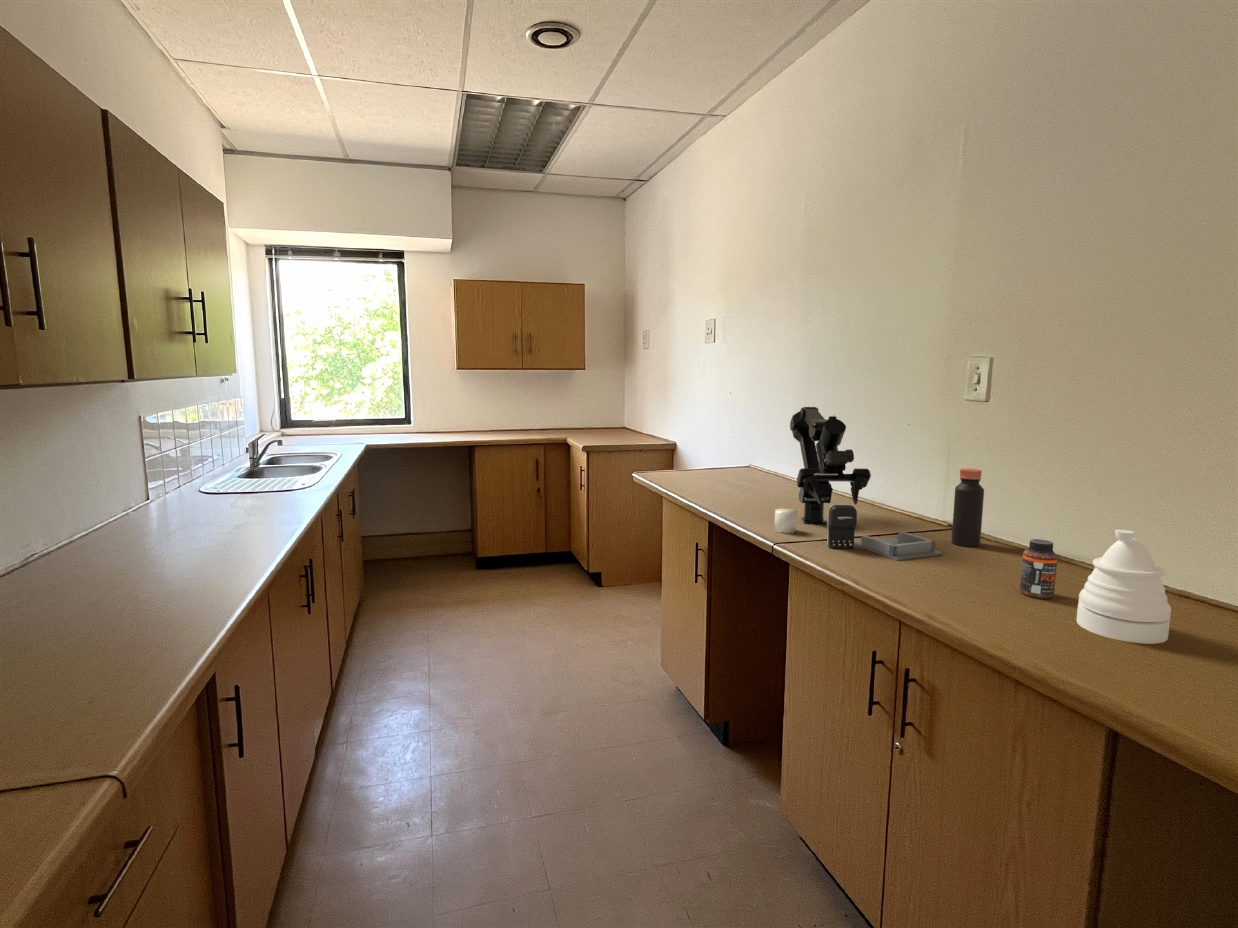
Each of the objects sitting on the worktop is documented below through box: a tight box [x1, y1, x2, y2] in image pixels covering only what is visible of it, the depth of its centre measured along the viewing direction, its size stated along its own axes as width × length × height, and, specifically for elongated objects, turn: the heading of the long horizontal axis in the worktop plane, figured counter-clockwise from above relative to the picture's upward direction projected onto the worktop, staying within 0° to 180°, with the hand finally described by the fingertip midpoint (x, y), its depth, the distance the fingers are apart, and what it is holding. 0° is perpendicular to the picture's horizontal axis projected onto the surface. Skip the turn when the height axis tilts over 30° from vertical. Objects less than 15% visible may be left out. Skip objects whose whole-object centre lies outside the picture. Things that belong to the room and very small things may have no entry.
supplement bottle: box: [1019, 538, 1058, 600], centre depth 130 cm, size 6×6×11 cm
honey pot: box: [1076, 529, 1172, 645], centre depth 112 cm, size 13×13×18 cm
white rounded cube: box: [774, 508, 797, 534], centre depth 185 cm, size 6×6×6 cm
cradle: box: [854, 530, 942, 562], centre depth 165 cm, size 16×14×3 cm
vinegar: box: [951, 468, 985, 548], centre depth 169 cm, size 7×7×20 cm
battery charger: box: [826, 503, 858, 550], centre depth 166 cm, size 7×4×11 cm, turn 88°
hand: (838, 503), depth 170 cm, fingers open, 9 cm apart
